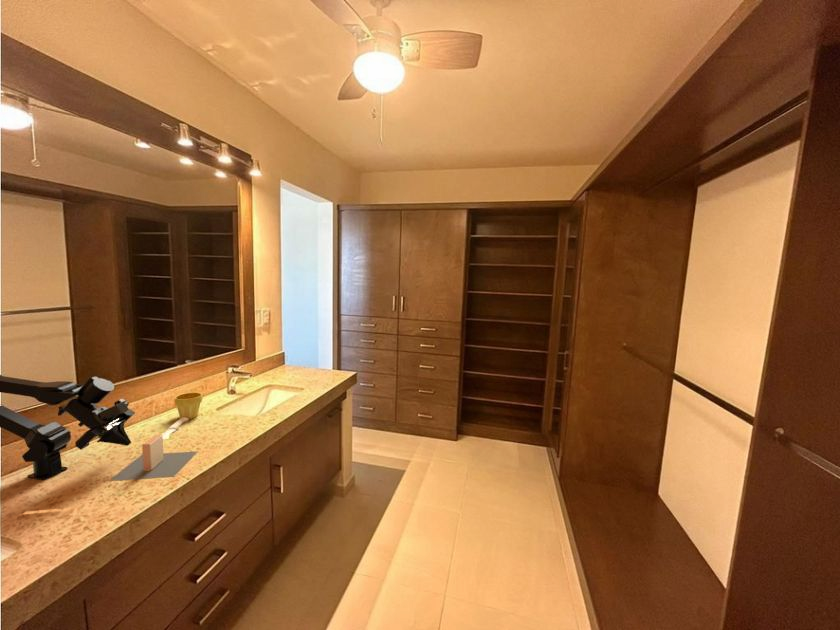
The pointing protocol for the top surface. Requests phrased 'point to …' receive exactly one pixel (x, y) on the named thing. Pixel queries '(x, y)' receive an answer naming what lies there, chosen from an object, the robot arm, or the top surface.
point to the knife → (174, 427)
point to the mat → (163, 469)
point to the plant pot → (188, 404)
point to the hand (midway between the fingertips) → (129, 444)
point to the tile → (152, 452)
